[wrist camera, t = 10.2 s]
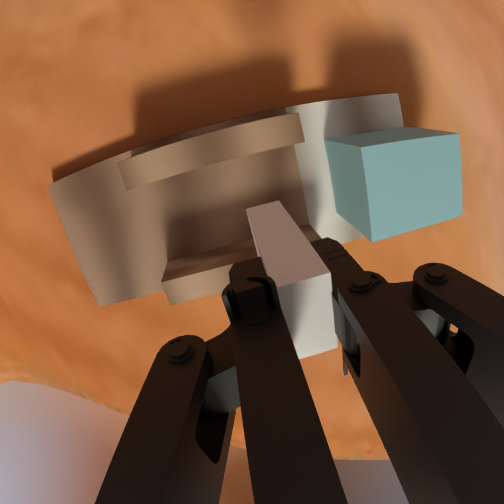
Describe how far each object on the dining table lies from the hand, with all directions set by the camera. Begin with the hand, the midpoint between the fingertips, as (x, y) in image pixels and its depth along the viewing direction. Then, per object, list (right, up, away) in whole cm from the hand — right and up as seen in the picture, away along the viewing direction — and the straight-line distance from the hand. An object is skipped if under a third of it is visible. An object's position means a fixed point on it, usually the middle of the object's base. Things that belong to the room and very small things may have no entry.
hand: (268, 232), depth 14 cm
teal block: (+9, +6, +9) cm, 14 cm away
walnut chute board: (-2, +4, +10) cm, 11 cm away
